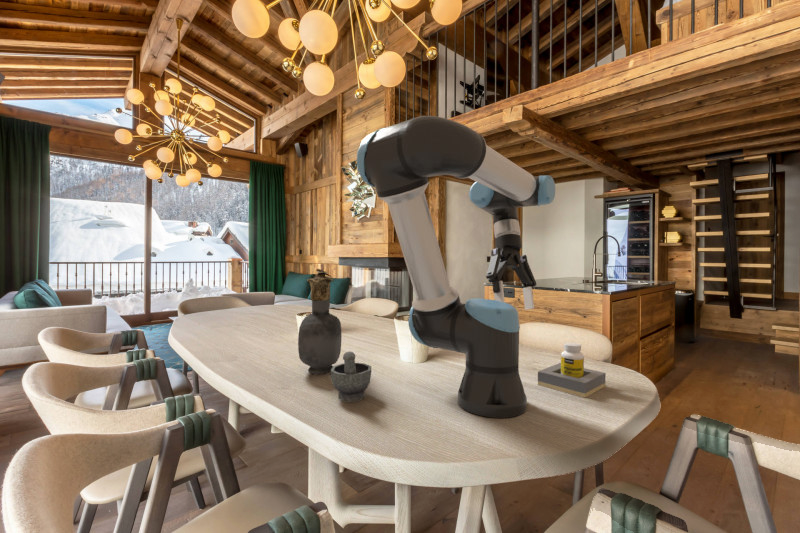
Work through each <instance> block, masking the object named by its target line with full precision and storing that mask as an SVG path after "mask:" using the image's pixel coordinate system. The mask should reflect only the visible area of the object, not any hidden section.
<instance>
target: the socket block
mask: <svg viewBox="0 0 800 533" xmlns="http://www.w3.org/2000/svg"><path fill="white" fill-rule="evenodd" d="M606 374H607V373H606V372H602V371H599V370H593V369H589V368H585V367H584V376H583V377H581V378H575V377H571V376H567V375H563V374H561V362H559V363H556V364H554V365H552V366H549V367H546V368H543V369H541V370H539V371H537V386H541V387H544V388H548V389H552V390H556V391H559V392H562V393H566V394H569V395H573V396H577V397H580V398H584V399H585V398H587V397H589V396H591V395H592V394H594V393H596V392H597V391H599V390H602V389H603V388H606Z"/></svg>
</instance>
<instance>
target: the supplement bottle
mask: <svg viewBox="0 0 800 533" xmlns="http://www.w3.org/2000/svg"><path fill="white" fill-rule="evenodd" d="M563 348H564V350H563V351H562V352H561V355H560V363H561V374H563V375H567V376H571V377H575V378H581V377H583V376H584V368H585V366H584V365H585V355H584V354H583V353H582V352H581V351H582V344H580V343H578V342H565V343H564V344H563Z"/></svg>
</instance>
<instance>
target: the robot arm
mask: <svg viewBox="0 0 800 533" xmlns="http://www.w3.org/2000/svg"><path fill="white" fill-rule="evenodd" d="M356 167H357V170H358V174H359V176H360V178H361V179H362V180H363V182H364V183H366V184H367V186H369V187H372V188H375V191H376V194H377V197H378V199H379V200H381V201H382V202H385V203H386V204H387V206H388V210H389V213H390V218H391V219H392V224H393V226H394V230H395V232H396V236H397V240H398V243H399V245H400V249H401V253H402V256H403V259H404V262H405V265H406V269H407V273H408V276H409V279H410V282H411V284H412V285H411V286H412V288H413V291H414V295H415V296H414V299H413V300H412V301H411V308H410V309H409V313H408V315H409V318H408V328H409V331H410V333H411V336H412V338H413V339H415V340H416V341H417V343H419V344H422V345H424V346H427V347H429V348H433V349H442V350H448V351H450V352H456V353H461V354H465V369H464V372H463V376H462V378H461V382H460V385H459V388H458V391H457V404H458V406H459V407H460V408H461V409H463V410H464V411H466V412H468V413H471V414H474V415H476V416H481V417H487V418H496V419H497V418H499V419H500V418H502V419H504V418H512V417H517V416H520V415H522V414H524V413H525V412H526V411H527V409H528V407H527V405H528V404H527V403H528V400H527V395H526V391H525V388H524V386H523V383H522V378H521V376H520V370H519V368H520V366H519V362H520V360H519V357H520V353H519V352H520V330H521V325H520V317H519V316H520V315H519V311H518V309H517V308H516V307H515V306H514V305H512V304H511V303H507V302H505V293H504V284H503V282H504V281H503V280H501V279H502V277H503V274H504V273H505V271H506V269H507V268H509V269H511V270H512V271H514V272H515V274H516V276H517V277H518V279H519V281H520V282H521V284H522V286H523V288H522V294H523V304H524V310H527V311H528V310H532V309H533V310H534V309H535V302H534V293H533V287H535V286H537V281H536V279H535V277H534V274H533V271H532V270H531V266H530V265H529V262H528V256H527V255H526V254H523V255H521V254H520V250H521V249H522V248H523V247H522V246H523V245H522V243H523V242H522V237H521V234H522V233H521V227H520V220H519V213H518V208H526V207H527V208H528V207H537V206H538V207H540V206H545V205H549V204H551V203H553V202H554V201H555V200H554V199H555V197H556V184H555V180H554V178H553V177H552V176H551V175H538V176H534V175H533V174H532V173H531V172H529V171H527V170H525V169H524V168H522V167H521V166H519V165H517V164H516V163H514V162H513V161H511V160H510V159H508V158H507V157H506V156H504V155H502V154H501V153H499V152H497V150H494V149H493V148H492V147H490V146H489V145H487V143H486V139H485V137H483V135H481V134H480V133H478V132H477V131H476V130H474V129H472V128H470V127H469V126H467V125H465V124H463V123H460V122H458V121H455V120H452V119H449V118H446V117H441V116H435V115H420V116H417V117H413V118H410V119H408V120H405V121H402V122H399V123H396V124H392V125H389V126H386V127H381V128H379V129H376V130H375V131H373V132H371V133H369V134H367V135H366V136H365V137H364V138H362V140H361V141H360V144H359V148H358V149H357V152H356ZM437 176H452V177H454V178H457V179H470V180H472V181H474V182H473V184H472V185H471V187H470V188H469V192H468V198H469V200H470V202H471V203H472V204H473V205H475V207H477V208H478V209H481V210H483V211H484V212H487V214H490V215H491V216H492V224H493V234H494V238H495V239H494V242H495V243H494V245H495V248H493V249H491V251H490V252H491V254H490V255H491V256H490V260H489V264H488V267H487V272H486V275H485V277H486V279H487V280H488V283H491V285H492V291H493V297H494V299H486V298H478V297H477V298H469V299H467V300H466V302H465V303H462V301H461V298H460V295H459V292H458V290H457V289H456V288H454V287H452V286H450V285H451V284H450V282H449V279H448V275H447V270H446V267H445V264H444V260H443V256H442V253H441V248H440V246H439V242H438V238H437V234H436V229H435V226H434V223H433V219H432V215H431V212H430V208H429V204H428V201H427V197H426V194H425V191H426V189H427V188H428V186H429V184H430V182H429V178H431V177H437Z"/></svg>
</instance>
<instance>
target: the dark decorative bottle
mask: <svg viewBox="0 0 800 533" xmlns="http://www.w3.org/2000/svg"><path fill="white" fill-rule="evenodd" d="M315 271H316V272H317V273H316V274H315V276H314V277H313V278H308V279H307V280H306V281H307V282H308V283H309V286H310V300H311V313H310V314H309V315H307V316H305V317H304V318H303V320H302V321H301V323H300V325H299V329H298V336H297V338H298V339H297V340H298V341H297V349H298V355H299V356H298V358H299V359H300V361H301V362H302V363H303V364H304V365H306V366H309V368H308V373H309V374H310V373H311V375H314V374H318V375H317V376H320V374H323V375H327V373H328V374H331V369H332V367H334V366H333V365H334V364H336V363H337V362H338V360H339V358H340V355H341V352H342V323H341V321H340V319H339V317H338V316H336V315H334V314H332V313H330V305H331V303H330V300H331V283H332V282H333V281H334V279H333V278H329V277H332V276H331V275H330V273H328V272H327V271H325V270H322V269H320V268H316V269H315ZM327 276H328V277H327Z"/></svg>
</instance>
